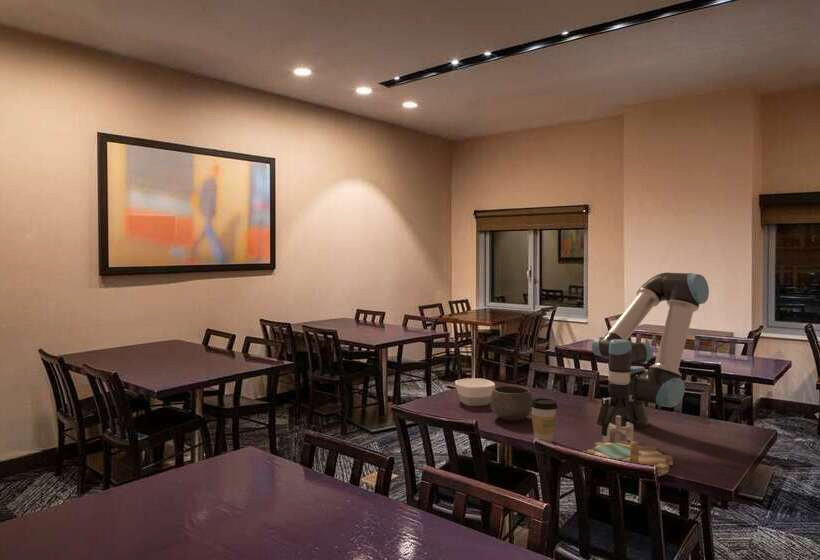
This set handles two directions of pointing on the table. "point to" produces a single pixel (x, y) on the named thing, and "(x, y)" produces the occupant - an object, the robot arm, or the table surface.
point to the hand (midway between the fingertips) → (617, 442)
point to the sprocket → (633, 454)
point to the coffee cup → (543, 417)
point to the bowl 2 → (511, 402)
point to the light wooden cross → (619, 429)
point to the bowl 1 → (474, 391)
